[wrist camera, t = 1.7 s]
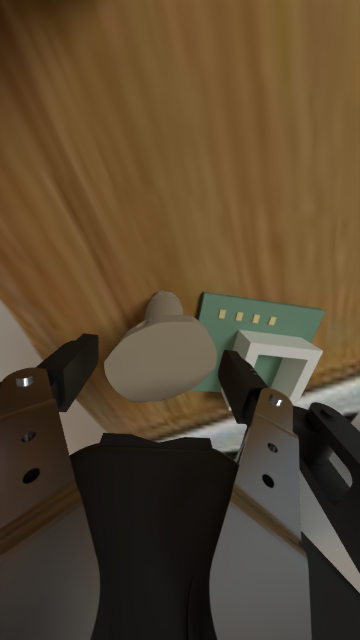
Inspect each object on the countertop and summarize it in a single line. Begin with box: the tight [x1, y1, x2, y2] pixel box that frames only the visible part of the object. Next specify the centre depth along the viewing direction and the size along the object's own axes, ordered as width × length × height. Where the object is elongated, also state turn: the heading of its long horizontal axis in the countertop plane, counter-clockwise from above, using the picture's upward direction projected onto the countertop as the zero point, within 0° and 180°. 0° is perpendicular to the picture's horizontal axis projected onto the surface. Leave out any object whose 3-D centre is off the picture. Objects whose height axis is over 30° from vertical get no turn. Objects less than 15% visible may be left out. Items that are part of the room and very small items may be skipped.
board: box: [191, 292, 326, 393], centre depth 27 cm, size 16×18×1 cm
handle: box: [104, 290, 217, 402], centre depth 17 cm, size 5×6×15 cm
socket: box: [221, 330, 323, 410], centre depth 26 cm, size 12×10×4 cm
